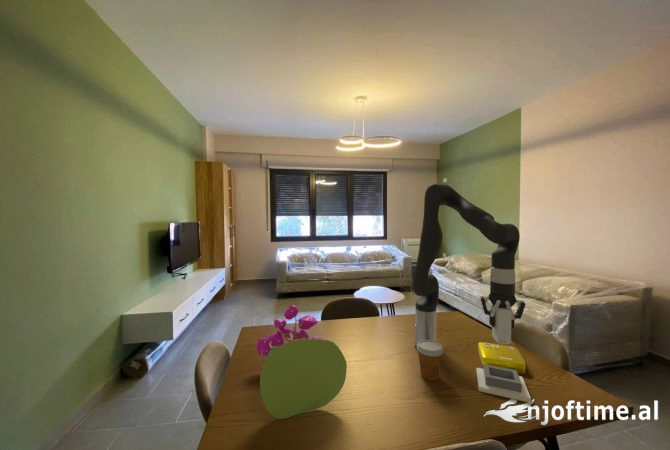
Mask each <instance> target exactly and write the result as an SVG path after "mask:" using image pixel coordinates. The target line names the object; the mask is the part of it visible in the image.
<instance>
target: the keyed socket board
mask: <svg viewBox="0 0 670 450" xmlns="http://www.w3.org/2000/svg"><path fill="white" fill-rule="evenodd" d="M482 366H483V365H482ZM475 372H476V377H477V378H476V379H477V387H478V391H479V392H481V393H486V394H491V395H495V396H499V397H503V398H508V399H512V400H516V401H521V402H526V403H529V404H531V403H532V397H531V395H530V392H529V390H528V387H527V384H526V382H525V380H524V378H523V376H520V375H519V373H517V370H511V369H506V368H501V367H496V366H491V365H486V364H484V366H483V368H480V367H476V371H475Z"/></svg>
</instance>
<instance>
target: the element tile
mask: <svg viewBox="0 0 670 450" xmlns="http://www.w3.org/2000/svg"><path fill="white" fill-rule="evenodd" d="M477 348H478V349H477V351H478V356H479V358H480V362H481V365H482V366H484V364H486V365H491V366H496V367H501V368H506V369H511V370H517V373H518V374H526V361H525V359H524V358H523V356H522V354H521V352H520V350H519V349H518V348H517V347H516V346H511V345H506V344H499V343H497V344H496V343H492V342H491V343H489V342H483V341H482V342H481V341H479V342H478V345H477Z"/></svg>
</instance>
